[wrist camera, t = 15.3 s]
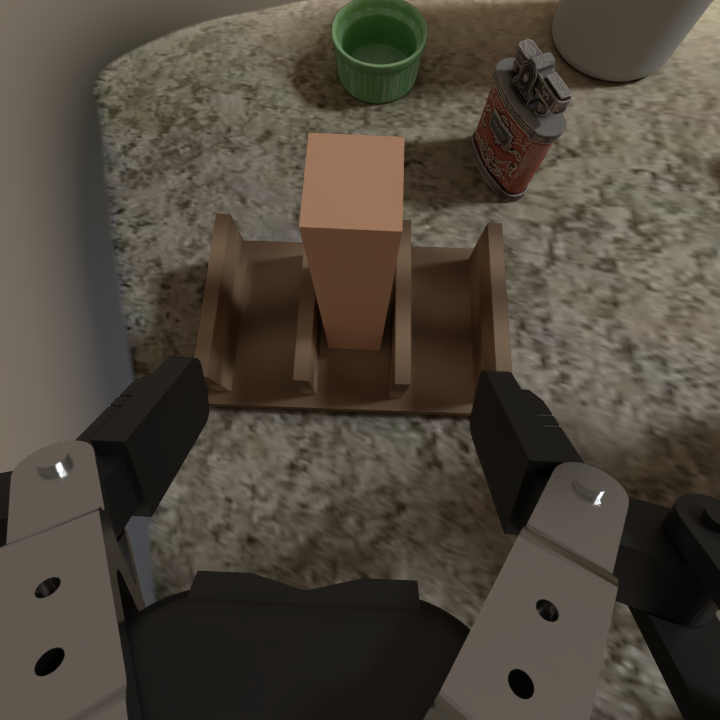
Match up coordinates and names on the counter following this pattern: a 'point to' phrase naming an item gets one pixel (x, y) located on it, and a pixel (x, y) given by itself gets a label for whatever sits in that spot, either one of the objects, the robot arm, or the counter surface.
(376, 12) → the ramekin
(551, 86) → the lighter
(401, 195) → the clay bar
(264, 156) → the counter surface
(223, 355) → the wooden slotted holder
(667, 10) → the cylinder vase
